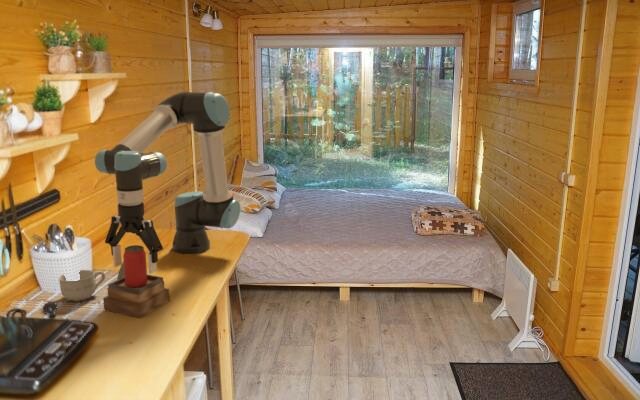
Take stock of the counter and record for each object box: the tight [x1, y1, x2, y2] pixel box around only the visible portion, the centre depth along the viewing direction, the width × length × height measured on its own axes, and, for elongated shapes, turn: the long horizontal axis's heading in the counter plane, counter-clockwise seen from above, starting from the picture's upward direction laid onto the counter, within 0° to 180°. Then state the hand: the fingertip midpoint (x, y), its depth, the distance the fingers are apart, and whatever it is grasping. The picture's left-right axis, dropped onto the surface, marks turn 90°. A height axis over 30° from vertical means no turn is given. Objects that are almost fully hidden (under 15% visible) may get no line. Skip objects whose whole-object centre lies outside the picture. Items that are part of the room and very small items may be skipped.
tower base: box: [103, 274, 171, 319], centre depth 174 cm, size 14×14×8 cm
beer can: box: [122, 244, 148, 288], centre depth 172 cm, size 7×7×12 cm
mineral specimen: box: [116, 260, 125, 280], centre depth 194 cm, size 7×9×8 cm
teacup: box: [58, 269, 106, 302], centre depth 180 cm, size 14×11×8 cm
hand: (135, 268), depth 172 cm, fingers open, 13 cm apart
